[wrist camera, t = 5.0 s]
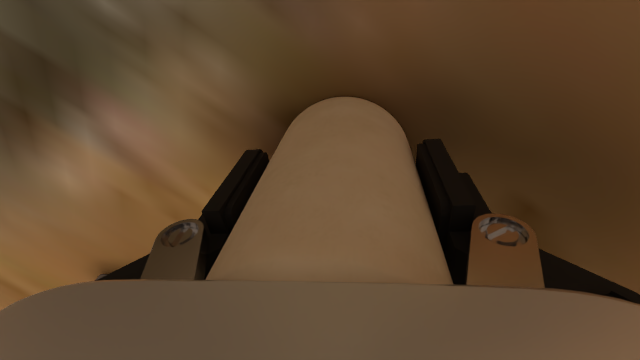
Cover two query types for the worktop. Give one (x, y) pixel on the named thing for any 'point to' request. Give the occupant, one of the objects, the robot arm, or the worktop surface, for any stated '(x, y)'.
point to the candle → (337, 206)
